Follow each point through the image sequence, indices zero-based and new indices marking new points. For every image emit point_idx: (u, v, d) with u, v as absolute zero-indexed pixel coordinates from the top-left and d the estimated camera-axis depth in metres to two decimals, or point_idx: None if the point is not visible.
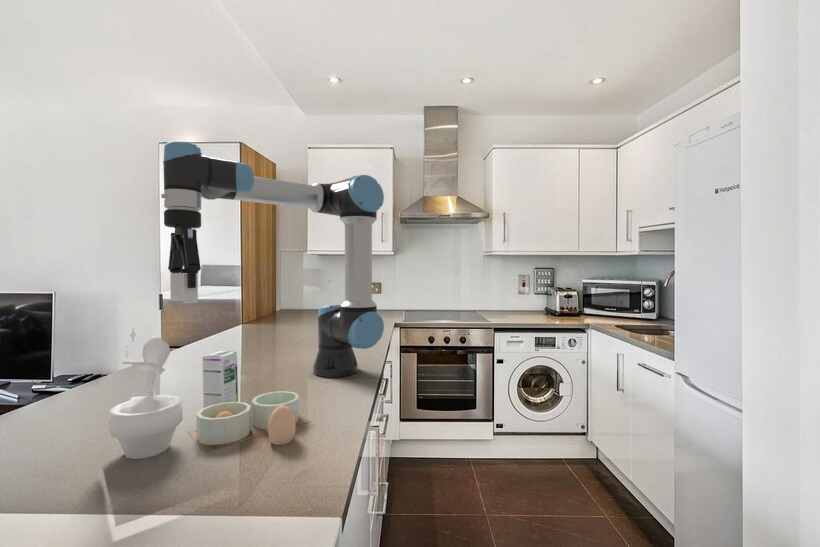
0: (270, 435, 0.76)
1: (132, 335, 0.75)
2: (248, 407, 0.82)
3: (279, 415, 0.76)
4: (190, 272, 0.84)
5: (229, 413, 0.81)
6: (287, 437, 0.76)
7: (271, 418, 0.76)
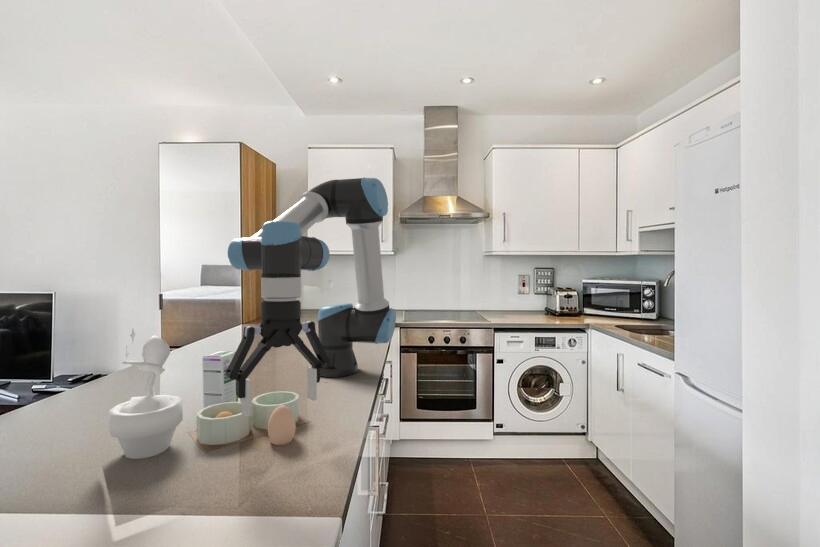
0: (270, 435, 0.76)
1: (132, 335, 0.75)
2: None
3: (279, 415, 0.76)
4: None
5: (229, 413, 0.81)
6: (287, 437, 0.76)
7: (271, 418, 0.76)
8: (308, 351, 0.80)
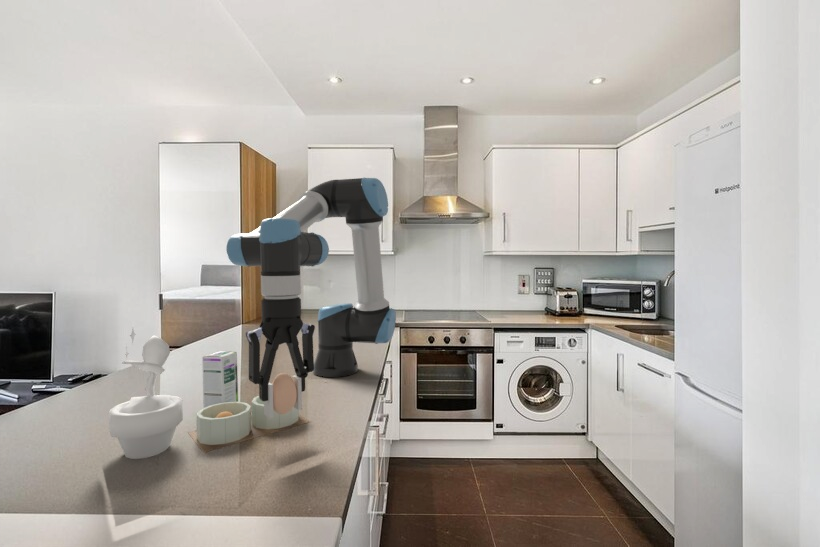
0: None
1: (132, 335, 0.75)
2: (248, 407, 0.82)
3: (280, 382, 0.76)
4: None
5: (229, 413, 0.81)
6: (289, 403, 0.77)
7: None
8: (299, 355, 0.79)
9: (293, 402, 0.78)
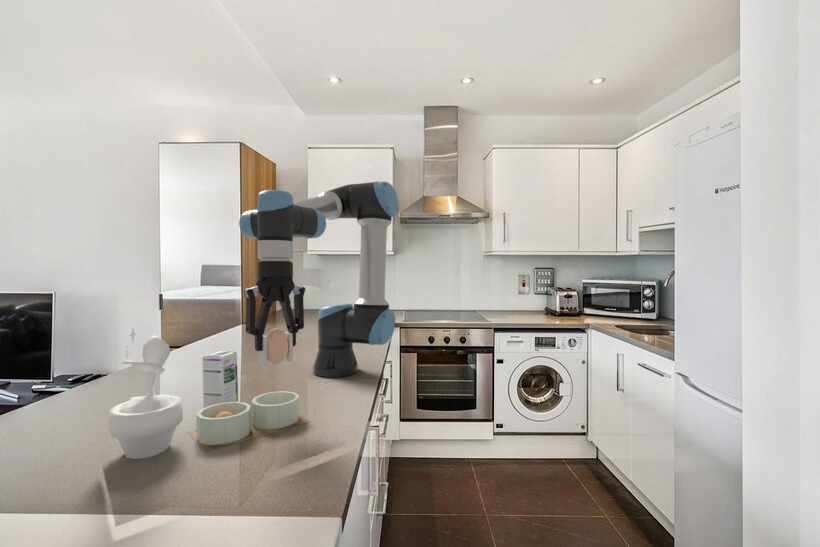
0: None
1: (132, 335, 0.75)
2: (248, 407, 0.82)
3: (274, 334, 0.86)
4: None
5: (229, 413, 0.81)
6: (281, 354, 0.86)
7: None
8: (291, 313, 0.89)
9: (285, 353, 0.87)
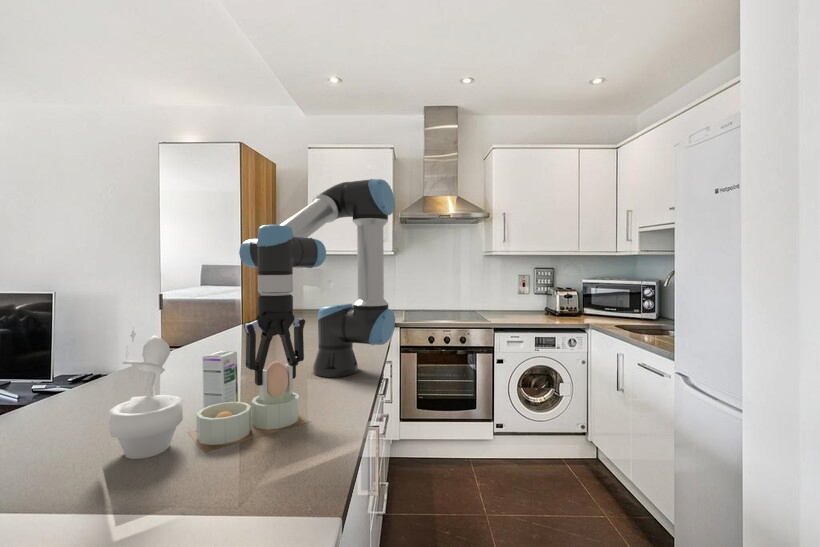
0: None
1: (132, 335, 0.75)
2: (248, 407, 0.82)
3: (274, 368, 0.87)
4: None
5: (229, 413, 0.81)
6: (281, 387, 0.87)
7: None
8: (291, 346, 0.89)
9: (285, 387, 0.88)
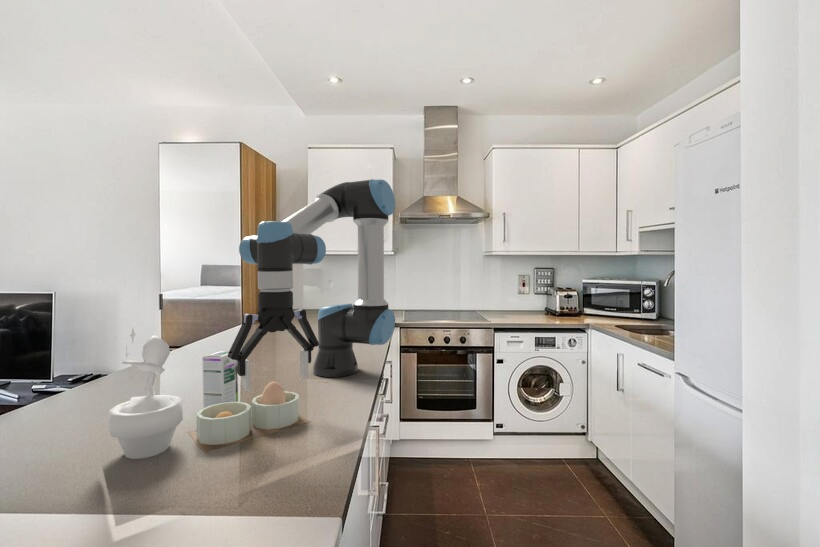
0: None
1: (132, 335, 0.75)
2: (248, 407, 0.82)
3: (271, 389, 0.86)
4: (236, 359, 0.83)
5: (229, 413, 0.81)
6: None
7: (264, 392, 0.87)
8: (300, 335, 0.91)
9: None
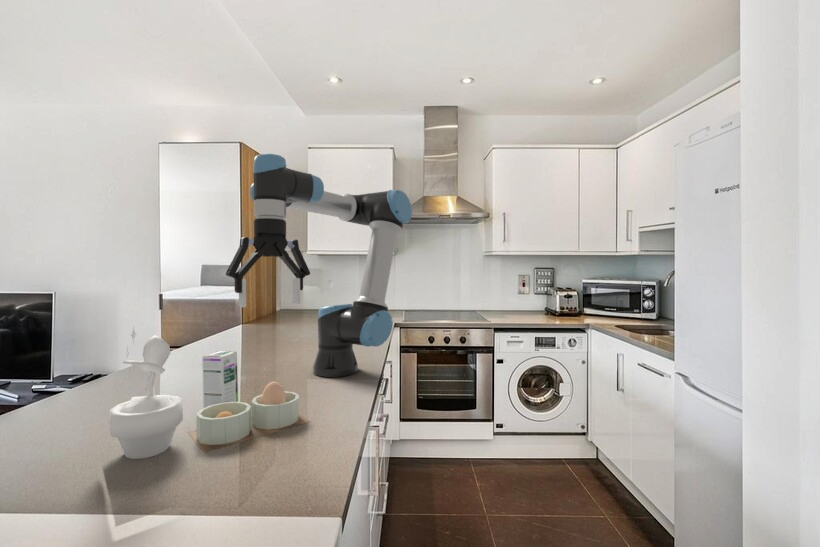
0: None
1: (132, 335, 0.75)
2: (248, 407, 0.82)
3: (271, 389, 0.86)
4: None
5: (229, 413, 0.81)
6: None
7: (264, 392, 0.87)
8: (293, 263, 0.99)
9: None
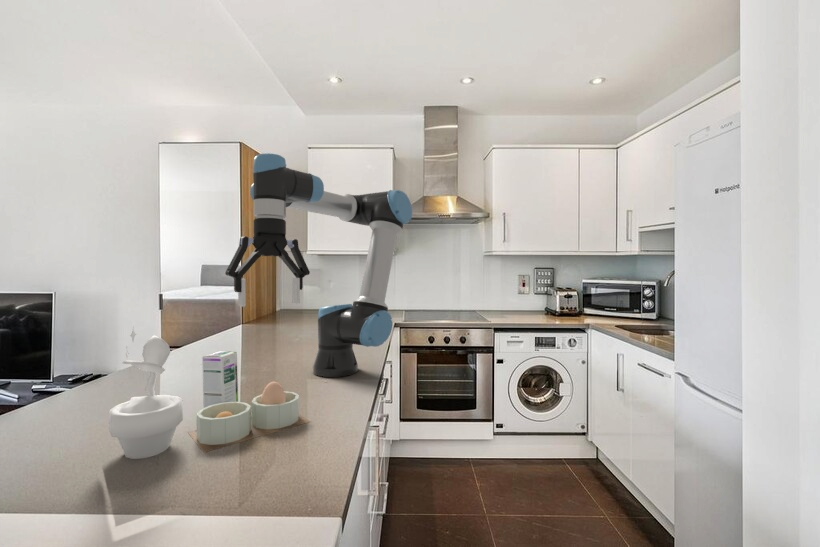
0: None
1: (132, 335, 0.75)
2: (248, 407, 0.82)
3: (271, 389, 0.86)
4: None
5: (229, 413, 0.81)
6: None
7: (264, 392, 0.87)
8: (292, 262, 0.99)
9: None
